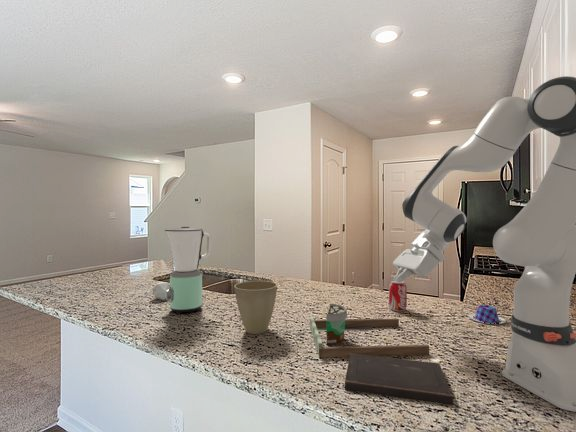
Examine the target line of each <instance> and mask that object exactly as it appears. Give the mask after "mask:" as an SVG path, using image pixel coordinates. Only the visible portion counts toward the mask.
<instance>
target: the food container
mask: <svg viewBox="0 0 576 432" xmlns="http://www.w3.org/2000/svg"><path fill="white" fill-rule="evenodd" d="M327 312H328V313H326V314H325V315H326V317H325V318H326V319H325V320H326V321H327V331H326V346H336V345H340V344H342V343H344V341H345V331H344V330H345V319H347V317H348V313H347V308H345V306H342V305H340V304H335V303H330V304H329V309H328V311H327Z"/></svg>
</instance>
